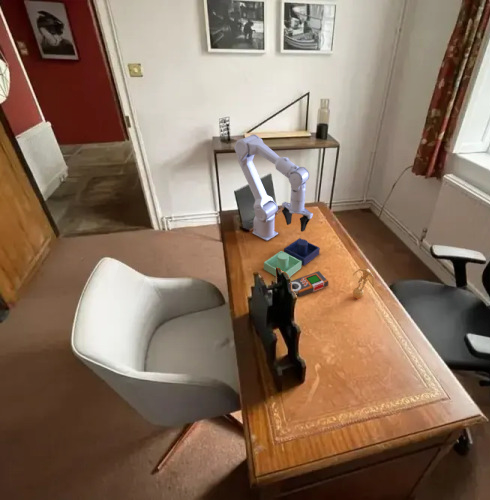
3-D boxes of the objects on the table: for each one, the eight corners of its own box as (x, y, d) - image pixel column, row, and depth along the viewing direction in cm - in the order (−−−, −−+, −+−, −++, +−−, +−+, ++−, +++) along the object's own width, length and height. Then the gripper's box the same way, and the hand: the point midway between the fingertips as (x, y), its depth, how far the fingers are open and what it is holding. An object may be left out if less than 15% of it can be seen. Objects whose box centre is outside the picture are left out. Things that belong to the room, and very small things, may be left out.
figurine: (344, 293, 116) (349, 268, 109) (353, 286, 119) (359, 261, 112) (364, 305, 111) (370, 280, 104) (373, 297, 115) (380, 272, 108)
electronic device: (285, 282, 116) (319, 269, 122) (285, 288, 118) (319, 275, 123) (293, 294, 112) (329, 280, 117) (293, 300, 113) (328, 286, 119)
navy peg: (294, 254, 134) (295, 242, 130) (300, 249, 137) (301, 237, 133) (302, 258, 132) (303, 246, 128) (308, 253, 134) (309, 241, 131)
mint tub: (263, 269, 126) (263, 262, 124) (281, 257, 133) (281, 250, 131) (284, 281, 120) (284, 274, 118) (301, 268, 127) (301, 261, 125)
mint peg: (274, 268, 126) (275, 256, 122) (282, 263, 129) (282, 251, 125) (283, 272, 124) (283, 260, 120) (290, 267, 126) (291, 255, 123)
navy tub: (283, 255, 134) (284, 248, 132) (299, 244, 140) (299, 238, 138) (303, 266, 128) (304, 259, 126) (319, 254, 135) (319, 247, 133)
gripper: (277, 196, 127) (276, 224, 135) (306, 208, 120) (303, 237, 128) (288, 190, 132) (287, 218, 140) (317, 201, 124) (313, 230, 132)
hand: (295, 227), depth 134 cm, fingers open, 7 cm apart
